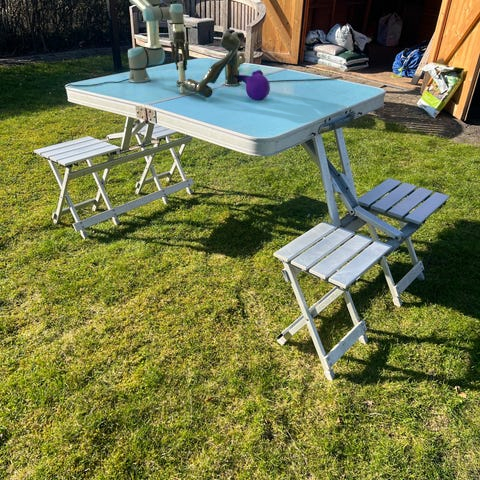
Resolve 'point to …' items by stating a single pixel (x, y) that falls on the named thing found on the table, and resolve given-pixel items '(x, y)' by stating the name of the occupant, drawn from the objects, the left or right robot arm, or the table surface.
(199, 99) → the table surface
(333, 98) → the table surface
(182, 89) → the pale green cylinder
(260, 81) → the toy
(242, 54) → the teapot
